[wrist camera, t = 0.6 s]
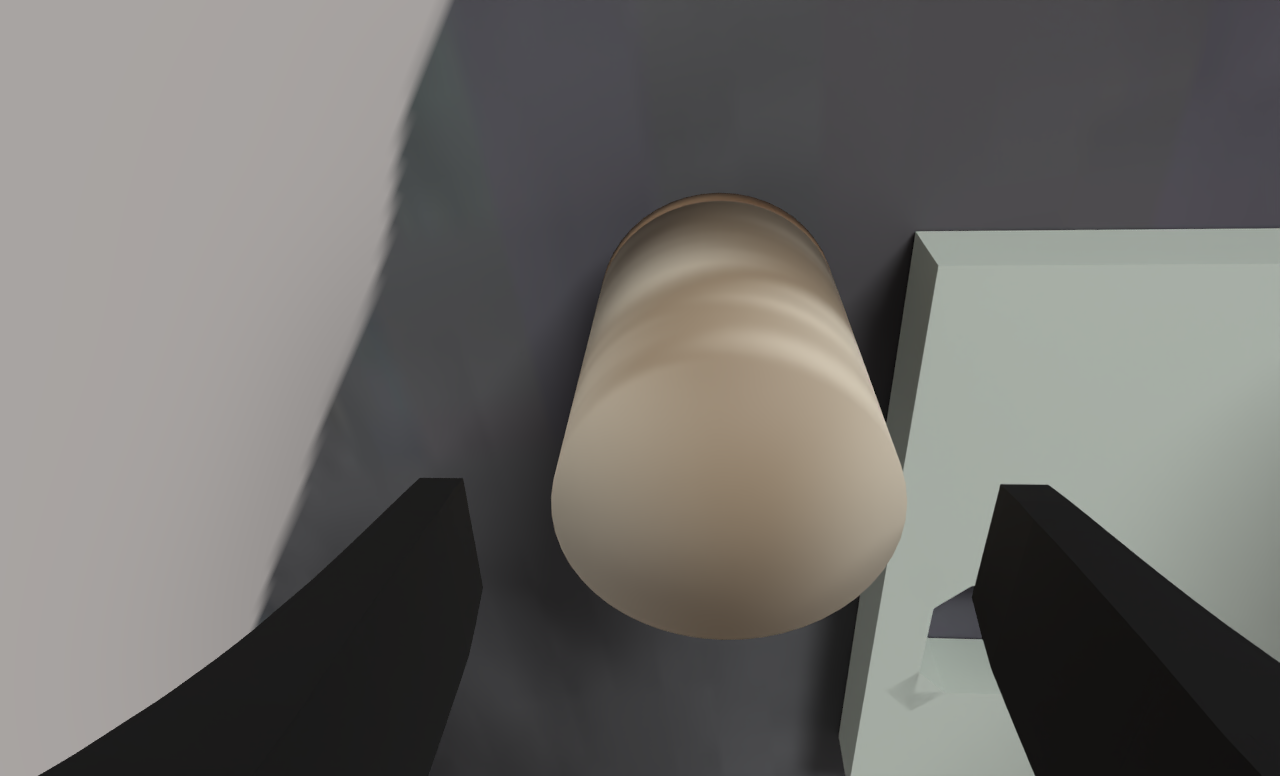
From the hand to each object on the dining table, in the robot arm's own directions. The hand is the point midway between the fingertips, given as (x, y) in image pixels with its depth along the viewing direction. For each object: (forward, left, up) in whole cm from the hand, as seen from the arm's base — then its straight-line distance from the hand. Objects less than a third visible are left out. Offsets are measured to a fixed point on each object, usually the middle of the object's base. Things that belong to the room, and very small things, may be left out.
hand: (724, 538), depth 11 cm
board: (-10, +8, -9) cm, 16 cm away
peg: (0, 0, -9) cm, 9 cm away
